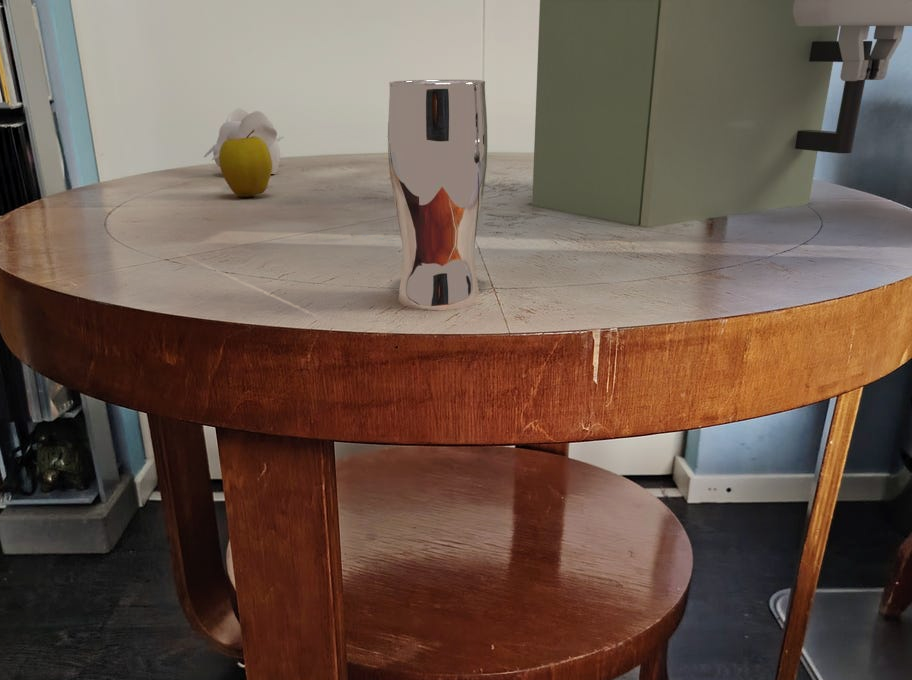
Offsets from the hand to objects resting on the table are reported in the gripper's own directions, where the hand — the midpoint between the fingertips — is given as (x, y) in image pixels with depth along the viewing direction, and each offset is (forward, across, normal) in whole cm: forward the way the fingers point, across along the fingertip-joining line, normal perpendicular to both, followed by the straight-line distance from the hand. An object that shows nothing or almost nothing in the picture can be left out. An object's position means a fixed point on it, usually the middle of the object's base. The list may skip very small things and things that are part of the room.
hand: (862, 80), depth 87 cm
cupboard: (+14, -9, +16) cm, 23 cm away
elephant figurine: (+14, -33, +77) cm, 85 cm away
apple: (+14, -42, +56) cm, 71 cm away
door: (+13, -9, +4) cm, 17 cm away
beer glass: (+14, -50, -2) cm, 52 cm away
